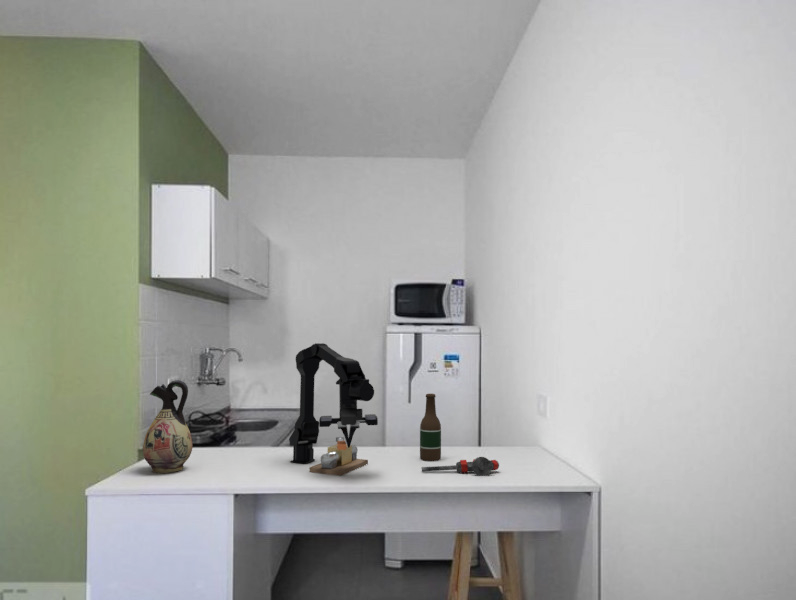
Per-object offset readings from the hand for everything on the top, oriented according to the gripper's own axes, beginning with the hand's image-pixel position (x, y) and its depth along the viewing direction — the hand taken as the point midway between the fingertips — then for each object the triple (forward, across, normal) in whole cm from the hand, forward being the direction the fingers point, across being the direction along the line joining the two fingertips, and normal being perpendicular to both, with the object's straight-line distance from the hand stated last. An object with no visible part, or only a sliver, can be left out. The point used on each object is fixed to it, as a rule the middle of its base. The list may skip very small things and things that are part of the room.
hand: (348, 447), depth 181 cm
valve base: (+9, -3, +11) cm, 15 cm away
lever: (0, -3, +5) cm, 5 cm away
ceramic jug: (+8, -59, +12) cm, 61 cm away
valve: (+10, +37, +4) cm, 39 cm away
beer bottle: (+10, +30, +23) cm, 39 cm away
